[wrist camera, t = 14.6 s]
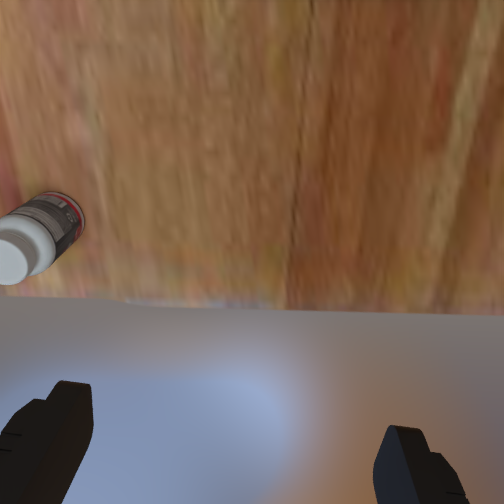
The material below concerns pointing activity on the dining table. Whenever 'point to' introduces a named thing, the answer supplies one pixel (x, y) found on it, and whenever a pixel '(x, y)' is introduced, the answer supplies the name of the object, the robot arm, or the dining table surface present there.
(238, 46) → the dining table surface
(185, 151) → the dining table surface
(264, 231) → the dining table surface
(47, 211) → the pill bottle
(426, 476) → the robot arm
